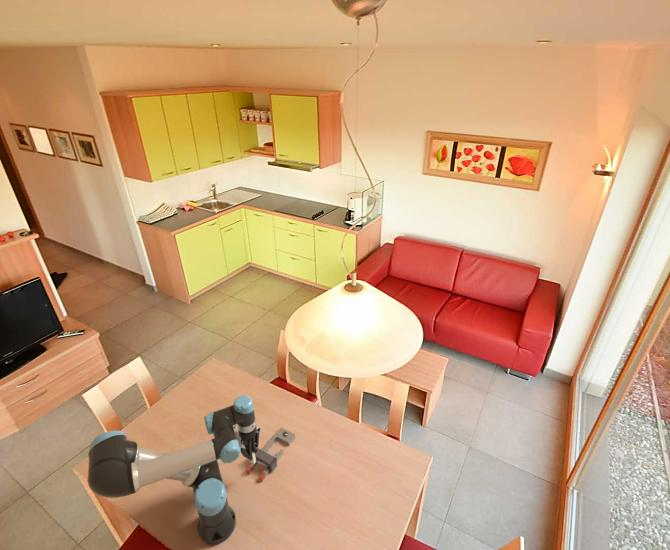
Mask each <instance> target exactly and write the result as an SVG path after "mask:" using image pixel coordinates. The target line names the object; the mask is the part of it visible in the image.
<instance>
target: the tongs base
mask: <svg viewBox="0 0 670 550" xmlns="http://www.w3.org/2000/svg"><path fill="white" fill-rule="evenodd" d="M295 439H296V434H295V433H293V432H291V431H289V430H288V429H285V428H283V427H280V428H279V429H278V430H277V431H276V433H275V434H274V435H273V437H272V438H271V439H270V440H269V441H268V443H267V444H266V445H265V446H264V447H263V449H262V450H263V451H264V452H266V453H268V452H269V451H270V449H271V448H272V447H273V446H274V445H275V443H276V442H277V441H280V442H281V443H283V444H285V445H287V446H289V447H290V446H291V444H292V443H293V442H294V440H295ZM259 463H260V462H259V461H258V460H256V462H255V464H253V463H250V465H249V466H248V467H247V468H246V473H247V475H251V474H252V472H253V471H254V469H255V468H256V467H257V465H259Z"/></svg>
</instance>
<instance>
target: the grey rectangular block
mask: <svg viewBox="0 0 670 550" xmlns="http://www.w3.org/2000/svg"><path fill="white" fill-rule="evenodd" d="M256 450H257V452H256V455H255V457H256V460H258V461H259V463H261V464H263V465H265V466H266V467H267V466H268V467H270V469H271V470H270V472H271V473H273V472H274V471H275V469H276V468H277V467H278V461H277V458H275V456H273V455H271V454H270V453H268V452H267V453H266V452H264V451H263V449H261V448H259V447H256Z"/></svg>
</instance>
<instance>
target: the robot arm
mask: <svg viewBox="0 0 670 550" xmlns="http://www.w3.org/2000/svg"><path fill="white" fill-rule="evenodd" d="M203 420H204V424H205V428H206V431H207V434H208V435H212V434H213V437H214V438H211V439H207V440H205V441H202V442H199V443H196V444H193V445H190V446H187V447H185V448H181V449H178V450H176V451H172V452H170V453H167V452H163V451H162V452H161V451H158V450H154V449H148V448H144V447H139V445H138V443H137V442H136V441H132V440H130V439H127V436H126V434H125V432H123V431H121V430H109V431H106V432H103V433H101V434H99V435H97V437H95V438H94V439H93V440H92V441H91V443H90V445H89V451H88V453H87V456H88V469H87V470H88V472H87V483H88V487H89V489H90V490H91V491H92V492H93V493H95V494H96V495H98V496H100V497H102V498H108V499H113V498H116V499H117V498H124V497H127V496H131V495H134V494H137V493H138V492H139V490H140V489H141V488H142V487H143V488H144V487H146V486H149V485H151V484H155V483H157V482H160V481H163V480H173V481H179V482H181V484H182V485H183V486H184V487H186V488H192V491H193V496H194V499H193V500H194V506H195V509H196V510H197V514H198V517H199V520H198V523H197V530H198V531H197V532H198V535H199V538H200V539H201V541H202V542H204V543H205V544H208V545H211V546H212V545H219V544H221V543H223V542H225V541H226V540H228V539H229V538H230V536H231V535H232V533H233V532H234V531H235V528H236V524H237V517H236V513H235V511H234V509H233V508H232V507H231V506H230V505H229V503H228V502H229V501H228V496H227V489H226V487H225V485H224V482H223V477H222V474H221V470H220V466H219V461H218V460H220V461H221V462H222V463H224V464H231V463H234V462H235V461H237V459H239V457H240V456H241V455H242V456H243V457H244V458H246V459H247V460H248V462H249V463H250V464H252V463H253V464H255V462H256V457H255V455H256V452H257V450H256V448H259V443H260V432H261V427H258V426H257V423H256V415H255V407H254V403H253V399H252V398H251V397H250V396H249V395H245V394H244V395H239V396H238V397H237V398H236V399H235V400H234V401H233V404H231V405H229V406H226V407H225V408H221V409H219V410H215V411H213V412H209V413H208V414H206V415H205V416H204V417H203ZM233 425H237V426H238V431H239V436H240V438H241V445H240V446H239V442H238V440H237V437H236V434H235V432H236V431H235V429H234V428H233ZM234 431H235V432H234ZM244 445H245V447H244Z"/></svg>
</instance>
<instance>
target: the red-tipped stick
mask: <svg viewBox="0 0 670 550" xmlns="http://www.w3.org/2000/svg"><path fill="white" fill-rule="evenodd" d="M283 455H284V449H282V448H280V449H279V450H278V451H277V453H276V454H275V456H274V457H275V458H277V462H278V461H279V460H280V459H281V457H282V456H283ZM270 472H271V469H270V467H268V466H267V465H266V468H265V469H264V470H263V472H261V474H260V475H259V477H258V478H259V479H258V480H259V482H263V481H264V480H265V478H266V477H267V476H268V475H269V474H270Z"/></svg>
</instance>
